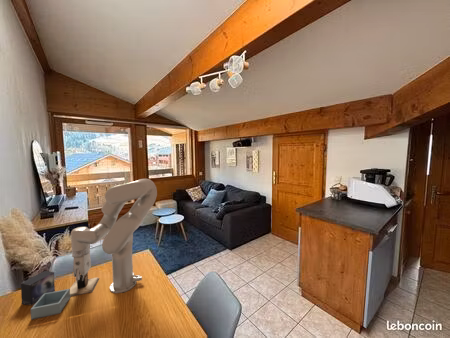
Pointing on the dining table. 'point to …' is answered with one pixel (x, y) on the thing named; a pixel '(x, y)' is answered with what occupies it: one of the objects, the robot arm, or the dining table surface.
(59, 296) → the open box
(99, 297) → the dining table surface
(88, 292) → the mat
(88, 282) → the lid
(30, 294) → the small box
